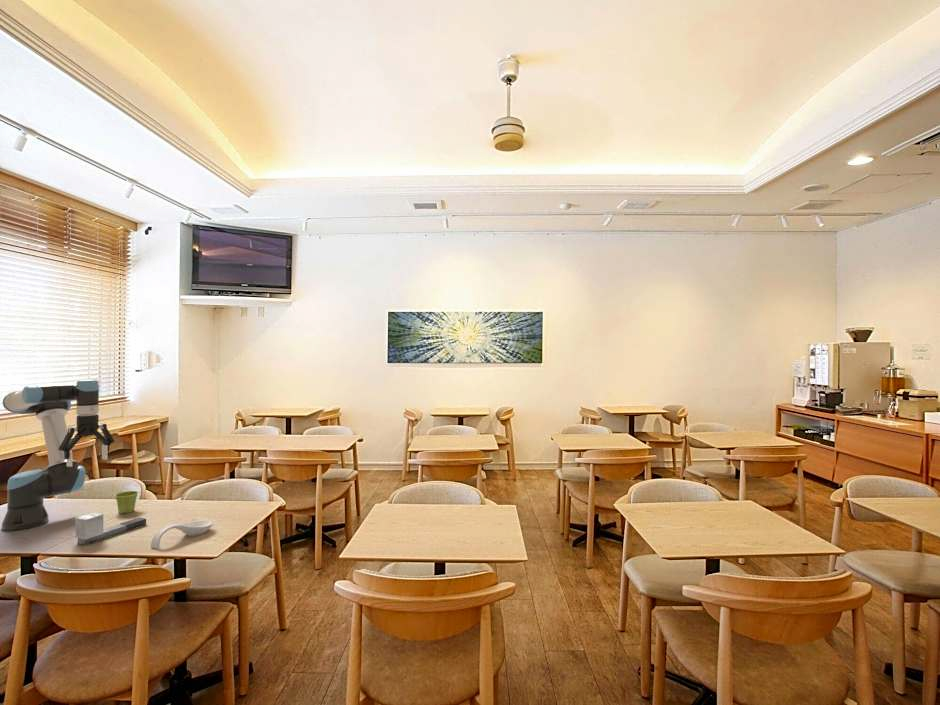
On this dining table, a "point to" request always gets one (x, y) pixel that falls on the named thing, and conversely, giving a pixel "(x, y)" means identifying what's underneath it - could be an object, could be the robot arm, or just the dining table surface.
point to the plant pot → (126, 501)
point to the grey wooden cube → (88, 525)
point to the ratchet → (115, 530)
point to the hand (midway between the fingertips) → (87, 462)
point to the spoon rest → (187, 528)
